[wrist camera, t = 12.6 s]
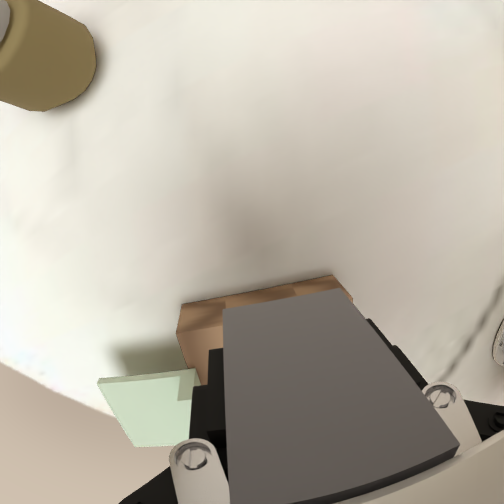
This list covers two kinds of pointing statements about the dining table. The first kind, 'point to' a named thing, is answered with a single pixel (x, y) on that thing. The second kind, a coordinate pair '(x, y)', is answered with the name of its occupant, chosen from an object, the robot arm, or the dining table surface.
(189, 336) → the socket
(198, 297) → the dining table surface
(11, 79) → the squeeze bottle
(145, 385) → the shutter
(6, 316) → the dining table surface
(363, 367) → the plug
